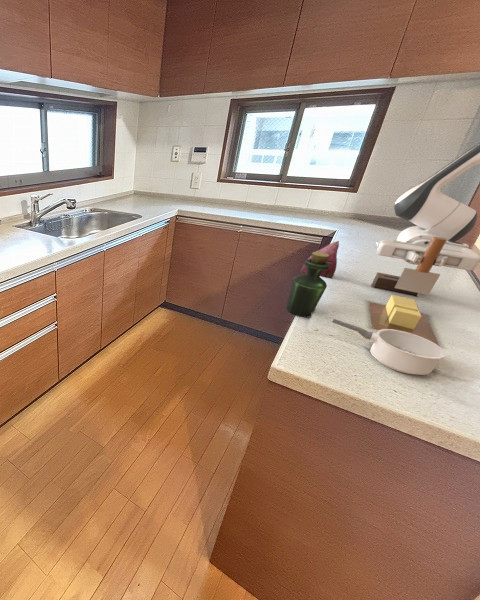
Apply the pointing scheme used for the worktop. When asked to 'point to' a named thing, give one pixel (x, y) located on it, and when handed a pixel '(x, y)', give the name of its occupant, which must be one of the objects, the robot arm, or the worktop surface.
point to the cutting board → (382, 322)
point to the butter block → (400, 304)
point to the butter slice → (404, 317)
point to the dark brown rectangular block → (389, 284)
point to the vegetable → (331, 260)
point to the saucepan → (398, 358)
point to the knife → (422, 270)
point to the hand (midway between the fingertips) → (428, 261)
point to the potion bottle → (308, 287)
